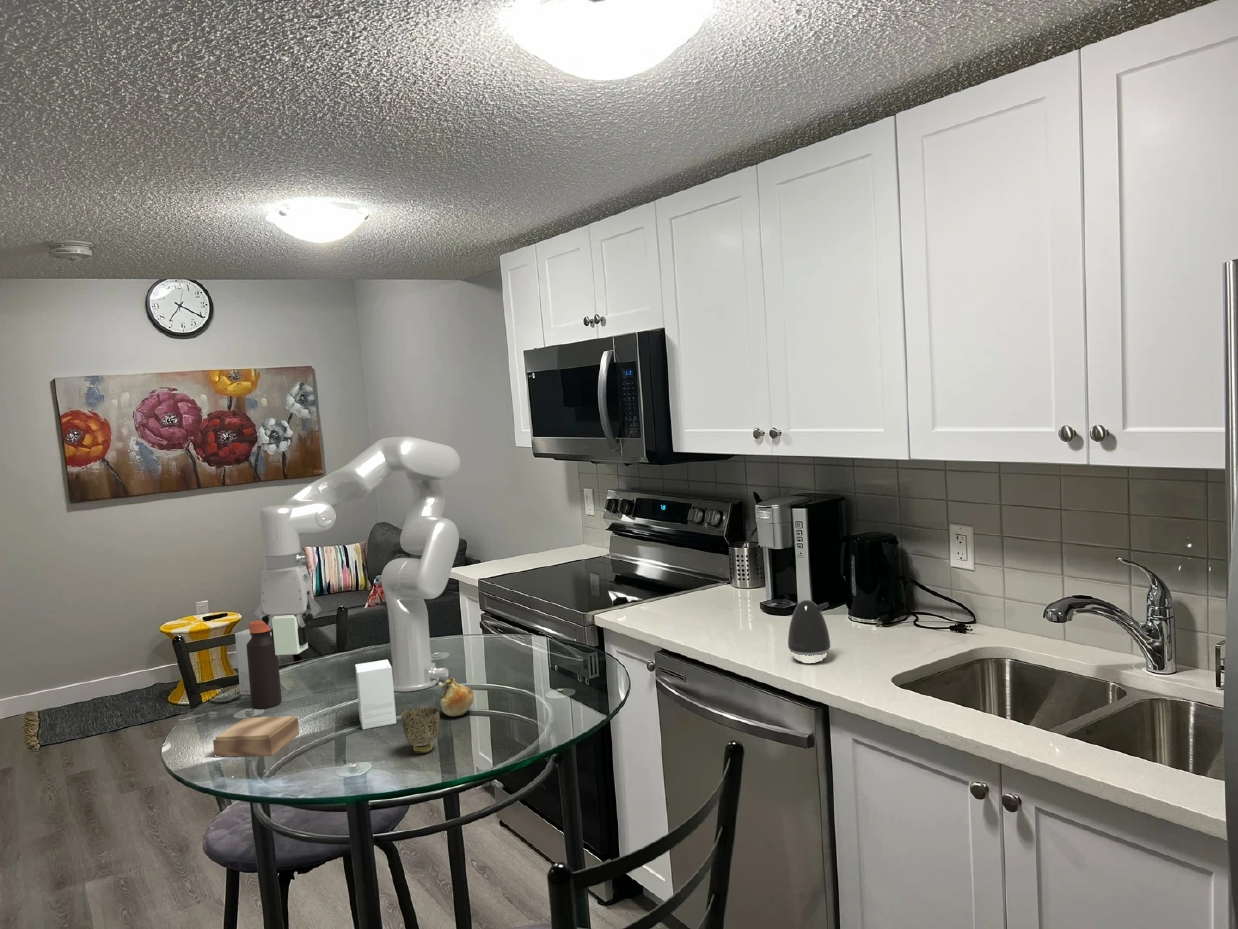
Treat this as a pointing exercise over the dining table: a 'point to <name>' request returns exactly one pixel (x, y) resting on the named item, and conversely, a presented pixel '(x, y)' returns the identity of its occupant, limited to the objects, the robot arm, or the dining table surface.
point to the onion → (455, 698)
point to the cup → (421, 727)
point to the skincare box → (243, 660)
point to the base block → (256, 736)
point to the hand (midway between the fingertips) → (291, 643)
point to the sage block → (286, 635)
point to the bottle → (263, 667)
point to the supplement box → (375, 694)
